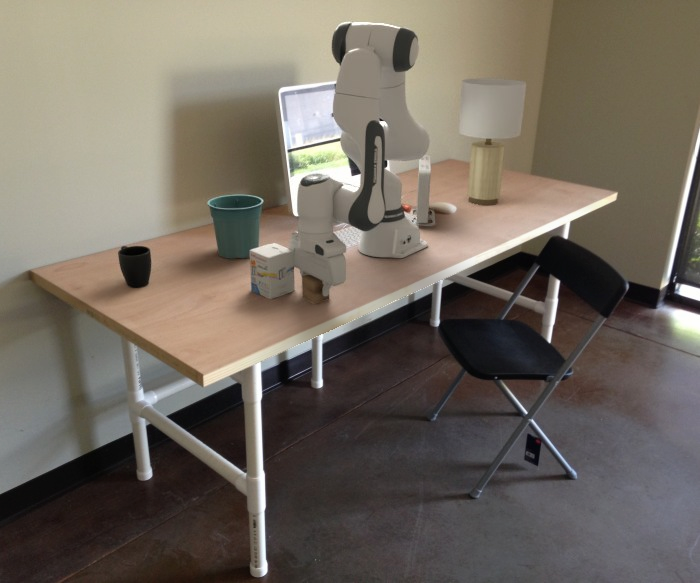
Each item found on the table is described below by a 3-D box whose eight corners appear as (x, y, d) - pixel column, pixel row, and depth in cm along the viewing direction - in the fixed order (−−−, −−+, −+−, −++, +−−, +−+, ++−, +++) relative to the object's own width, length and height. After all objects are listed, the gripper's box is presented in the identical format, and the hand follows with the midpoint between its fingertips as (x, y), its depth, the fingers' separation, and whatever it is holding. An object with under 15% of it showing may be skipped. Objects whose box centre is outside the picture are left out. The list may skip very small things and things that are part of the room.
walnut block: (317, 293, 179) (317, 272, 177) (329, 299, 176) (329, 277, 173) (302, 297, 176) (302, 276, 174) (313, 304, 173) (313, 282, 170)
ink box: (250, 290, 180) (248, 248, 176) (275, 282, 186) (273, 241, 181) (270, 300, 175) (268, 257, 170) (295, 291, 180) (294, 249, 175)
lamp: (458, 191, 275) (467, 77, 258) (515, 196, 269) (528, 80, 251) (448, 206, 255) (457, 83, 238) (509, 212, 249) (523, 86, 231)
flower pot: (207, 246, 212) (204, 196, 205) (260, 241, 216) (257, 192, 210) (214, 264, 197) (210, 211, 191) (270, 259, 202) (268, 206, 195)
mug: (142, 271, 191) (138, 239, 188) (158, 285, 182) (154, 252, 179) (113, 278, 187) (108, 245, 183) (128, 292, 178) (124, 258, 174)
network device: (410, 207, 253) (413, 154, 246) (434, 208, 253) (437, 154, 245) (409, 228, 230) (412, 170, 222) (435, 229, 229) (439, 171, 221)
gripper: (281, 231, 175) (283, 281, 180) (330, 253, 161) (330, 306, 166) (301, 227, 179) (302, 275, 184) (350, 247, 164) (350, 300, 170)
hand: (316, 290), depth 175 cm, fingers open, 6 cm apart
